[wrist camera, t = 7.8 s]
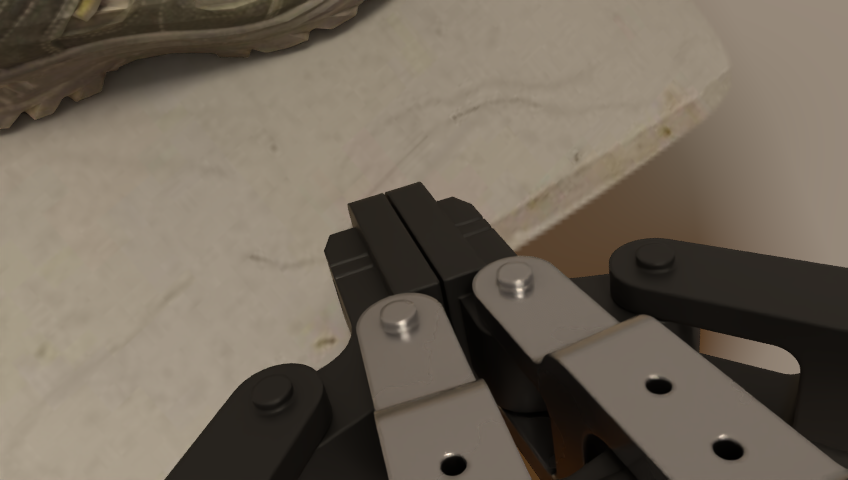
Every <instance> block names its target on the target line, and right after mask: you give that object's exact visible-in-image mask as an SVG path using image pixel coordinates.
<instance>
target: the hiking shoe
mask: <svg viewBox="0 0 848 480" xmlns="http://www.w3.org/2000/svg"><path fill="white" fill-rule="evenodd" d="M364 1H366V0H0V129H4V128H9V127H10V126H11V125H12V124H13V122H14V121H15V120H16V119H17V118H18V116H19V115H20V114H21V113H22V112H24V111H25V112H26V113H28V114H29V115H30V116H31V117H32V118H33V119H34V120H36V119H39V118H42V117H45V116H47V115H50V114H53V113H54V112H55V110H56V108H57V107H58V105H59V103H60V102H61V100H62V98H64V97H66V96H69V97H70V98H72V99H73V100H74V101H75V102H77V101H80V100H82V99H85V98H87V97H89V96H92V95H94V94H97V93H99V92H101V91H102V87H103V83H104V79H105V75H106V72H108V71H115V70H118V68H119V67H120V66H122V65H125V64H127V63H130V62H132V61H135V60H137V59H142V58H148V57H153V56H159V55H164V54H171V53H213V54H216V55H218V56H219V57H249V55H250V53H251V50H252V49H254V50H258V51H262V52H266V53H269V52H273V51H277V50H281V49H285V48H289V47H292V46H295V45H297V44H300V43H302V42H305V41H308V38H309V34H310V31H311V30H313V29H315V28H323V29H333V28H335V27H337V26H338V25H340V24H342V23H344V22H345V21H347V20H349V19H351V18H352V17H354V16H356V14H357V10H358V5H360V4H361V3H362V2H364Z"/></svg>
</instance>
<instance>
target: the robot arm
mask: <svg viewBox="0 0 848 480" xmlns="http://www.w3.org/2000/svg"><path fill="white" fill-rule="evenodd" d="M348 210H349V214H350V218H351V222H352V225H353V228H351V229H348V230H345V231H341V232H338V233H335V234H332V235H330V236H329V239H328V242H327V244H326V247H325V250H324V252H325V256H326V259H327V262H328V265H329V269H330V272H331V275H332V278H333V282H334V285H335V288H336V291H337V295H338V298H339V301H340V304H341V308H342V311H343V314H344V317H345V319H346V322H347V325H348V328H349V330H350V333H351V338H350V341H349V343H348V345H347V346H346V348H345V349H344V350H343V351H342V353H341V354H340V355H339V356H338V357H337V358H335V359H334V360H333V361H332V362H330V363H329V364H327V365H326V366H324V367H323V368H321V369H319V370H318V371H316V370H314V369H313V368H311V367H309V366H306V365H303V364H295V363H289V364H281V365H276V366H272V367H269V368H266V369H264V370H262V371H260V372H258V373H256V374H254V375H252V376H251V377H249V378H248V379H247V380H245V381H244V382H243V383H242V384H241V385H239V387H238V388H237V389H236V390H235V391H234V392H233V393H232V395H231V396H230V397H229V399H228V400H227V401H226V402H225V404H224V405H223V406H222V407H221V409H220V410H219V411H218V412H217V414H216V415H215V416H214V418H213V419H212V420H211V421H210V423H209V424H208V425H207V426H206V428H205V429H204V430H203V431H202V433H201V434H200V435H199V437H198V438H197V439H196V440H195V442H194V443H193V444H192V445H191V447H190V448H189V449H188V451H187V452H186V453H185V454H184V456H183V457H182V458H181V459H180V461H179V462H178V463H177V464H176V466H175V467H174V468H173V470H172V471H171V472H170V473H169V475H168V476H167V477H166V478H165V480H532V479H531V477H530V475H529V473H528V470H527V468H526V466H525V464H524V462H523V460H522V458H521V456H520V454H519V451H518V449H519V450H520V452H521V453H522V454H523V456H524V457H525V459H526V460H527V461H528V463H529V464H530V466H531V467H532V469H534V471H535V473H536V474H537V476H538V477H539V478H540V480H848V268H845V267H838V266H832V265H826V264H819V263H813V262H808V261H801V260H795V259H789V258H783V257H777V256H770V255H763V254H757V253H752V252H745V251H739V250H733V249H727V248H721V247H715V246H708V245H702V244H695V243H690V242H684V241H677V240H671V239H663V238H649V239H641V240H636V241H632V242H630V243H627V244H624V245H623V246H621V247H619V248H618V249H617V250H615V251H614V253H613V254H612V255H611V257H610V260H609V274H604V275H596V276H588V277H580V278H567V277H566V276H565V275H564V274H563V273H562V272H560V271H559V270H558V269H557V268H556V267H555V266H553V265H552V264H551V263H549V262H547V261H545V260H543V259H540V258H536V257H531V256H517V255H516V254H515V252H514V251H513V250H512V249H511V248H510V247H509V246H508V245H507V244H506V242H505V241H504V240H503V239H502V238H501V237H500V236H499V235H498V233H497V232H496V231H495V230H494V229H492V228H491V226H490V224H489V223H488V222H487V221H486V220H485V219H483V217H482V215H481V214H480V213H479V212H478V211H477V210H476V209H475V208H474V206H473V205H472V204H470V203H467V202H465V201H462V200H460V199H457V198H454V197H450V198H447V199H443V200H440V201H437V202H436V200H435V199H434V198H433V197H432V195H431V194H430V193H429V192H428V190H427V189H426V188H425V186H424V185H423V184H422V183H421V182H417V183H414V184H411V185H407V186H404V187H401V188H398V189H394V190H391V191H388V192H385V195H384V194H383V193H381V194H378V195H375V196H371V197H368V198H365V199H362V200H358V201H355V202H352V203H349V204H348ZM700 328H701V329H705V330H710V331H714V332H718V333H722V334H727V335H731V336H736V337H740V338H744V339H749V340H753V341H757V342H762V343H766V344H770V345H774V346H778V347H780V348H783V349H785V350H786V351H788V352H789V353H791V354H792V355H793V356H794V357H795V358H796V360H797V361H798V363H799V365H800V373H799V374H792V375H790V374H783V373H778V372H774V371H770V370H766V369H762V368H758V367H754V366H750V365H746V364H742V363H738V362H734V361H730V360H726V359H722V358H718V357H714V356H710V355H706V354H702V353H699V345H700ZM516 446H517V447H518V449H517V447H516Z"/></svg>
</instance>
